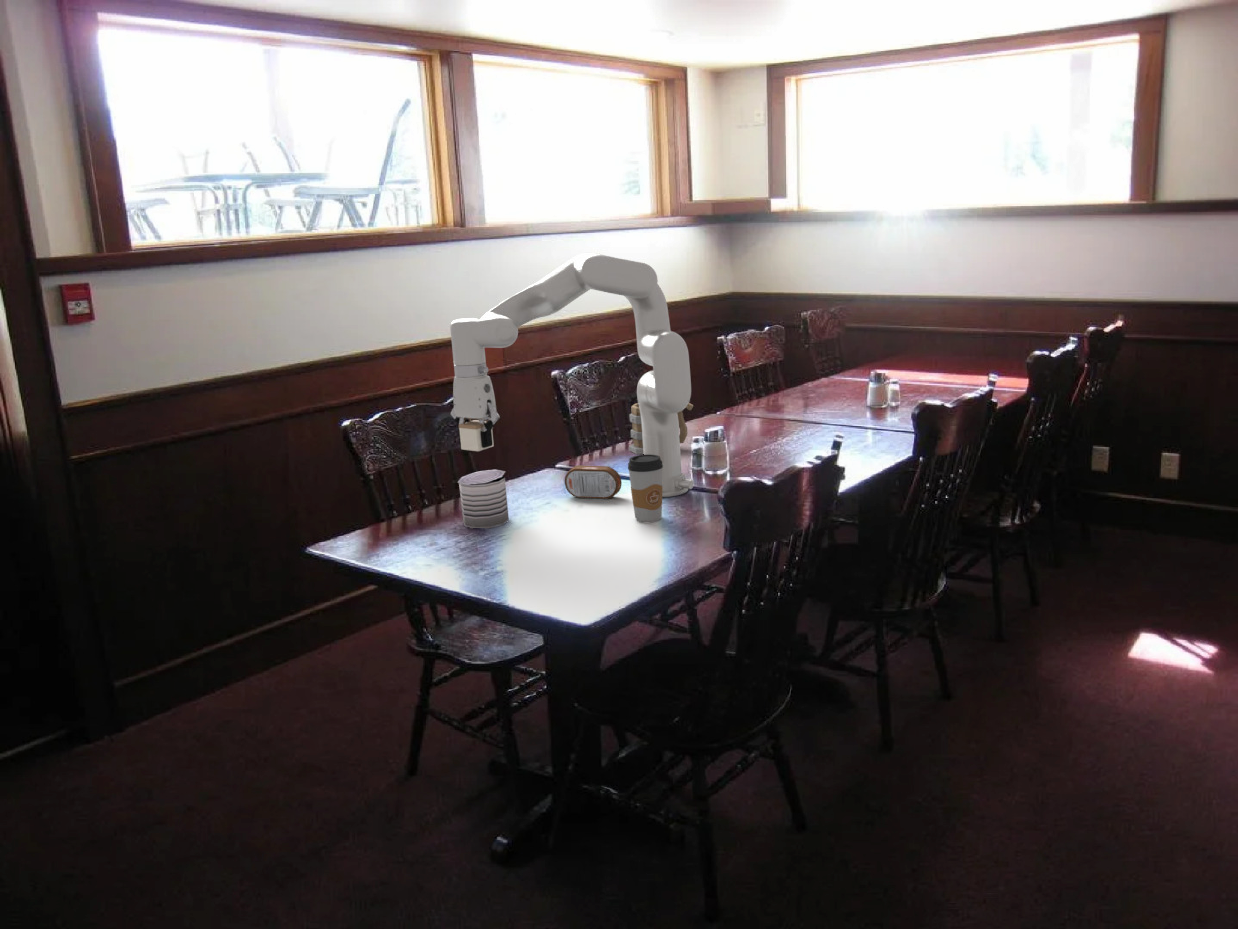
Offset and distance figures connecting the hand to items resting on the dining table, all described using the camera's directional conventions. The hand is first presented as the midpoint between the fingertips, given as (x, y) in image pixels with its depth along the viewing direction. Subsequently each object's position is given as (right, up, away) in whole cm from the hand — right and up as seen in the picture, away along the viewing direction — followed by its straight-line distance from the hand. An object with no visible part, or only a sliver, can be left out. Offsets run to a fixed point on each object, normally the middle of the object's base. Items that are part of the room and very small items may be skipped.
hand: (477, 444), depth 257 cm
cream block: (0, -1, 0) cm, 1 cm away
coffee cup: (+41, -18, -2) cm, 45 cm away
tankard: (+47, -1, +66) cm, 82 cm away
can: (+1, -19, +5) cm, 20 cm away
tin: (+27, -14, +20) cm, 36 cm away
